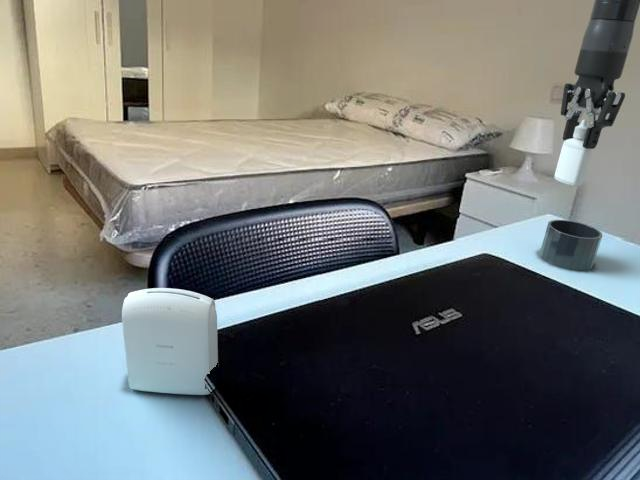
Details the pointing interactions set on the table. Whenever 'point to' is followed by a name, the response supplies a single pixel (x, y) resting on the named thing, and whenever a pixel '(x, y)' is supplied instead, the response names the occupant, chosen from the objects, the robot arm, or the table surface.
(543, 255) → the desk tube
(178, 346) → the photo printer
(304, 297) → the table surface
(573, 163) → the eye dropper bottle
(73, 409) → the table surface
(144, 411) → the table surface
